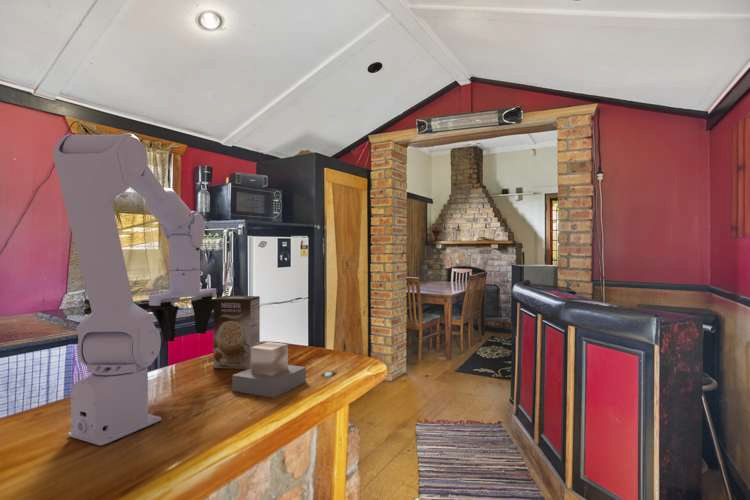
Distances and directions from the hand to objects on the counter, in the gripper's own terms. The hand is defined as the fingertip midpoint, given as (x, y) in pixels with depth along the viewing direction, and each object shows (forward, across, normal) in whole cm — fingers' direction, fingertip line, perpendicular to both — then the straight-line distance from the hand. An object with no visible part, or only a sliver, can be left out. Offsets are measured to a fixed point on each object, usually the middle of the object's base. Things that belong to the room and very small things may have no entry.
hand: (185, 336), depth 83 cm
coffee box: (+10, -14, 0) cm, 17 cm away
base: (+10, -6, +17) cm, 20 cm away
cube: (+6, -6, +17) cm, 19 cm away
